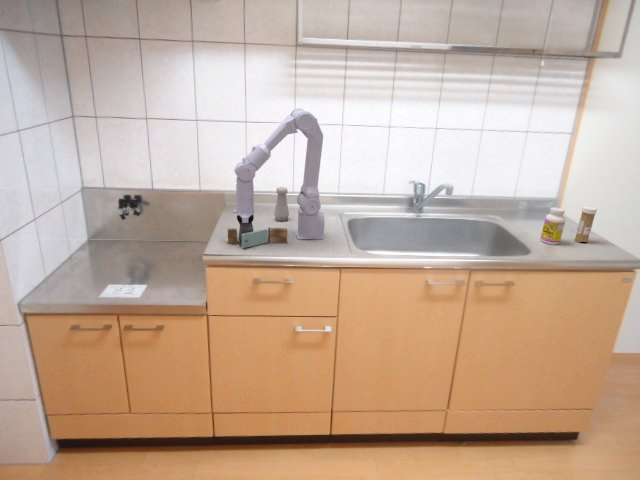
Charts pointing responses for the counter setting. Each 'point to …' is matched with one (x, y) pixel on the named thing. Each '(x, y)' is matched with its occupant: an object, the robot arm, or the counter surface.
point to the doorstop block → (244, 230)
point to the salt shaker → (281, 205)
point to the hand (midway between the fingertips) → (245, 235)
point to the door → (254, 238)
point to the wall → (273, 235)
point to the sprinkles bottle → (585, 223)
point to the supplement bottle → (553, 226)
